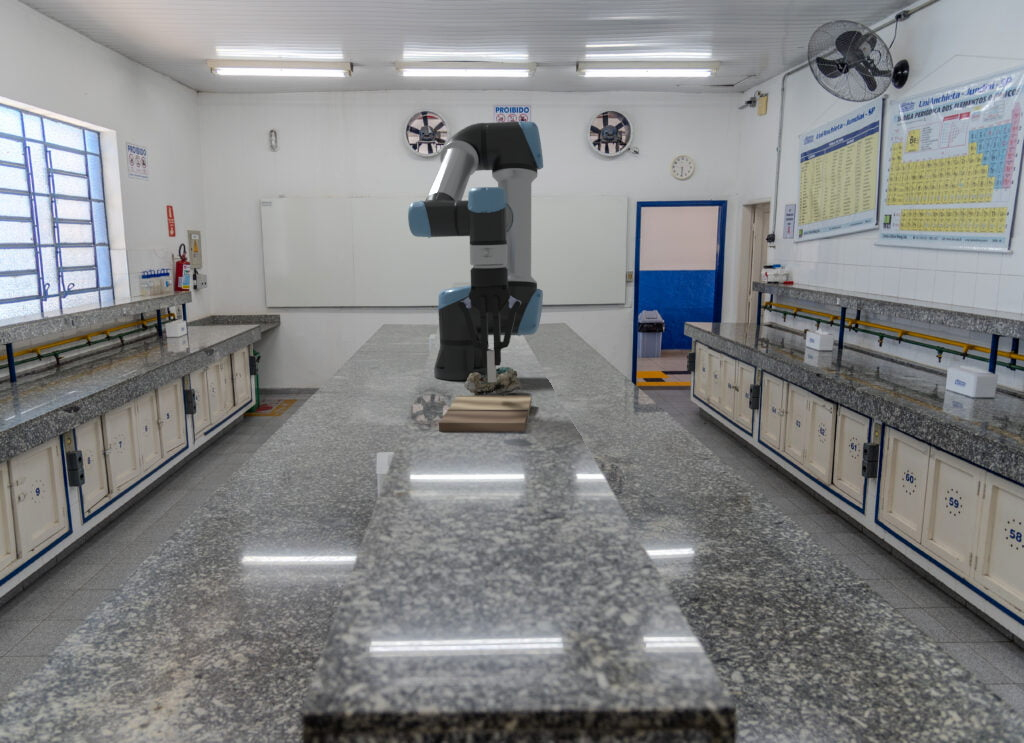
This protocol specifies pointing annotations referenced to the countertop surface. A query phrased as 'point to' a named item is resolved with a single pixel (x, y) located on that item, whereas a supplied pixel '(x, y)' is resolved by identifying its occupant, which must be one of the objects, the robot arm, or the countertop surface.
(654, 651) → the countertop surface
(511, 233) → the robot arm
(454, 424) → the floor board
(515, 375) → the mineral specimen
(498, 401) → the board
